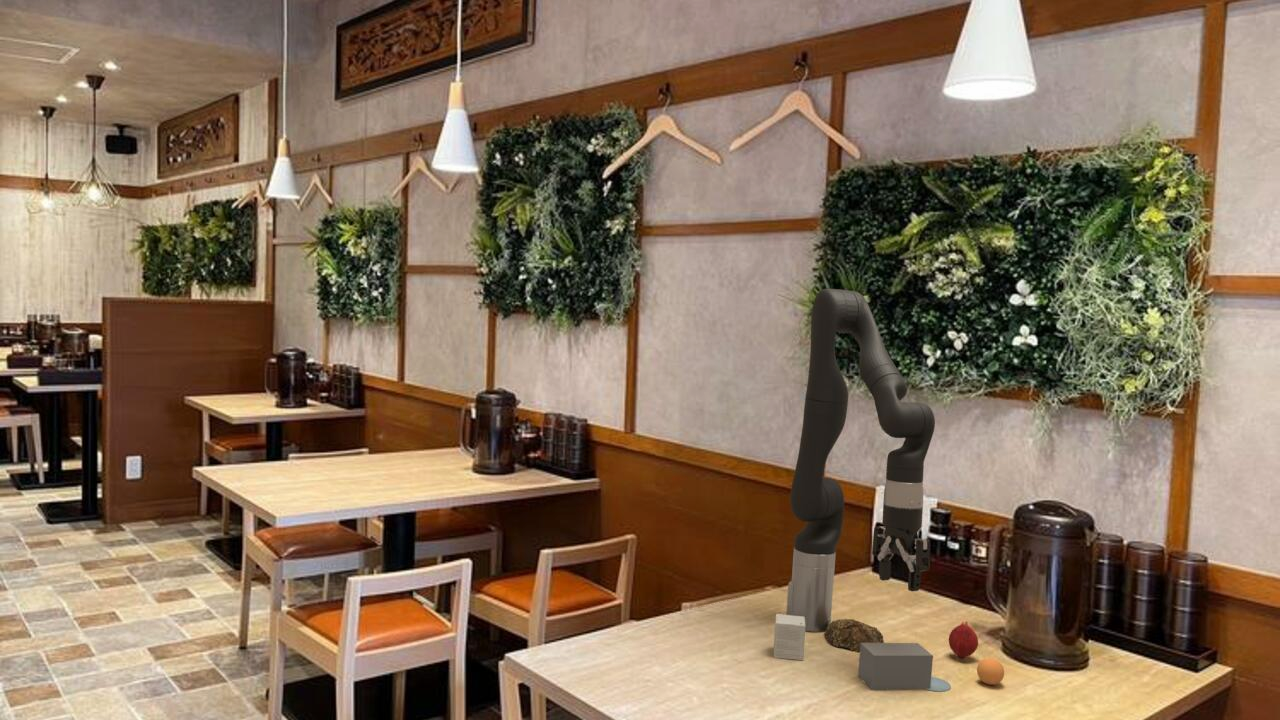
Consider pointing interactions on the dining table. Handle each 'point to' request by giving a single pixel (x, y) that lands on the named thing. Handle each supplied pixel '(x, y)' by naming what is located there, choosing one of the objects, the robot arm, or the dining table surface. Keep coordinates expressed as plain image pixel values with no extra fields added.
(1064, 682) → the dining table surface
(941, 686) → the spot
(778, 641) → the product box
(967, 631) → the onion
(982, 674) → the ball
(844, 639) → the bread roll
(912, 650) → the gray rectangular prism
